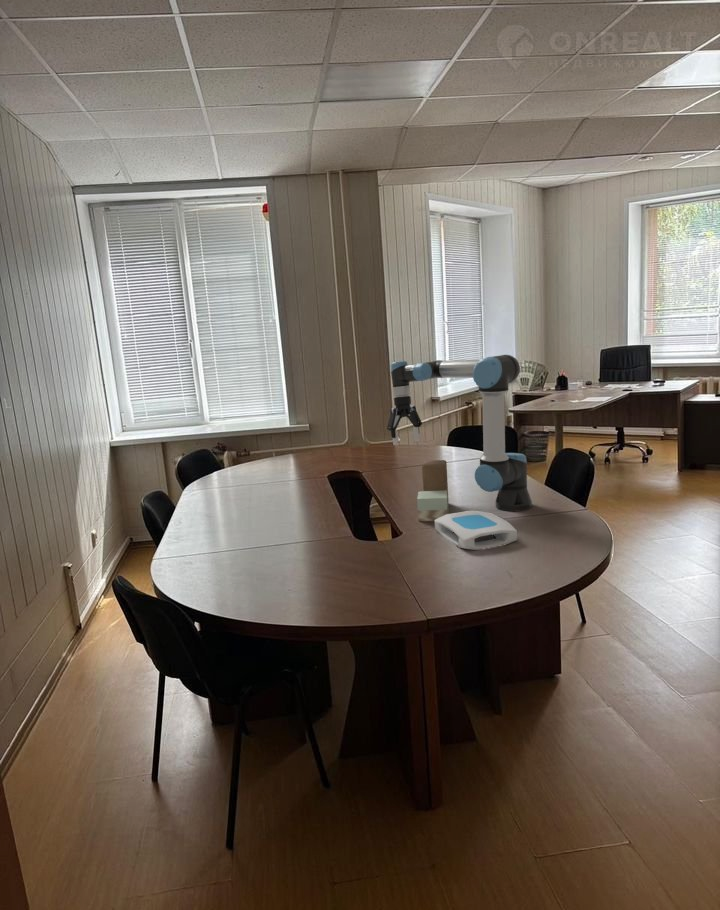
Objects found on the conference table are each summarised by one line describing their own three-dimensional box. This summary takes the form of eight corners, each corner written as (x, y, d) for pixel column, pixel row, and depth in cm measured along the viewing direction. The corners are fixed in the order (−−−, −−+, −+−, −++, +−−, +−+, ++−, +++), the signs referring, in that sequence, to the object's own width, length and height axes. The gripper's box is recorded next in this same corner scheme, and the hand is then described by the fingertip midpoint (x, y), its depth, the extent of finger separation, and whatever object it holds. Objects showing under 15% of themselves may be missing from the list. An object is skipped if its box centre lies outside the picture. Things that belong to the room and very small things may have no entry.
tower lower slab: (448, 513, 283) (448, 501, 282) (447, 521, 271) (447, 509, 270) (420, 513, 285) (419, 502, 284) (418, 522, 273) (417, 510, 272)
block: (447, 509, 286) (444, 464, 282) (424, 510, 288) (421, 465, 284) (448, 503, 296) (446, 459, 292) (426, 503, 298) (423, 460, 294)
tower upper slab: (447, 501, 282) (446, 490, 281) (447, 509, 270) (446, 497, 269) (419, 502, 283) (418, 491, 282) (417, 510, 272) (417, 498, 271)
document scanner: (464, 553, 233) (464, 536, 232) (434, 531, 259) (433, 515, 258) (518, 543, 238) (518, 527, 237) (483, 523, 265) (482, 508, 264)
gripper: (415, 394, 308) (419, 439, 310) (376, 399, 292) (380, 446, 294) (427, 393, 302) (431, 439, 304) (387, 398, 286) (392, 446, 288)
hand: (406, 443), depth 299 cm, fingers open, 13 cm apart
